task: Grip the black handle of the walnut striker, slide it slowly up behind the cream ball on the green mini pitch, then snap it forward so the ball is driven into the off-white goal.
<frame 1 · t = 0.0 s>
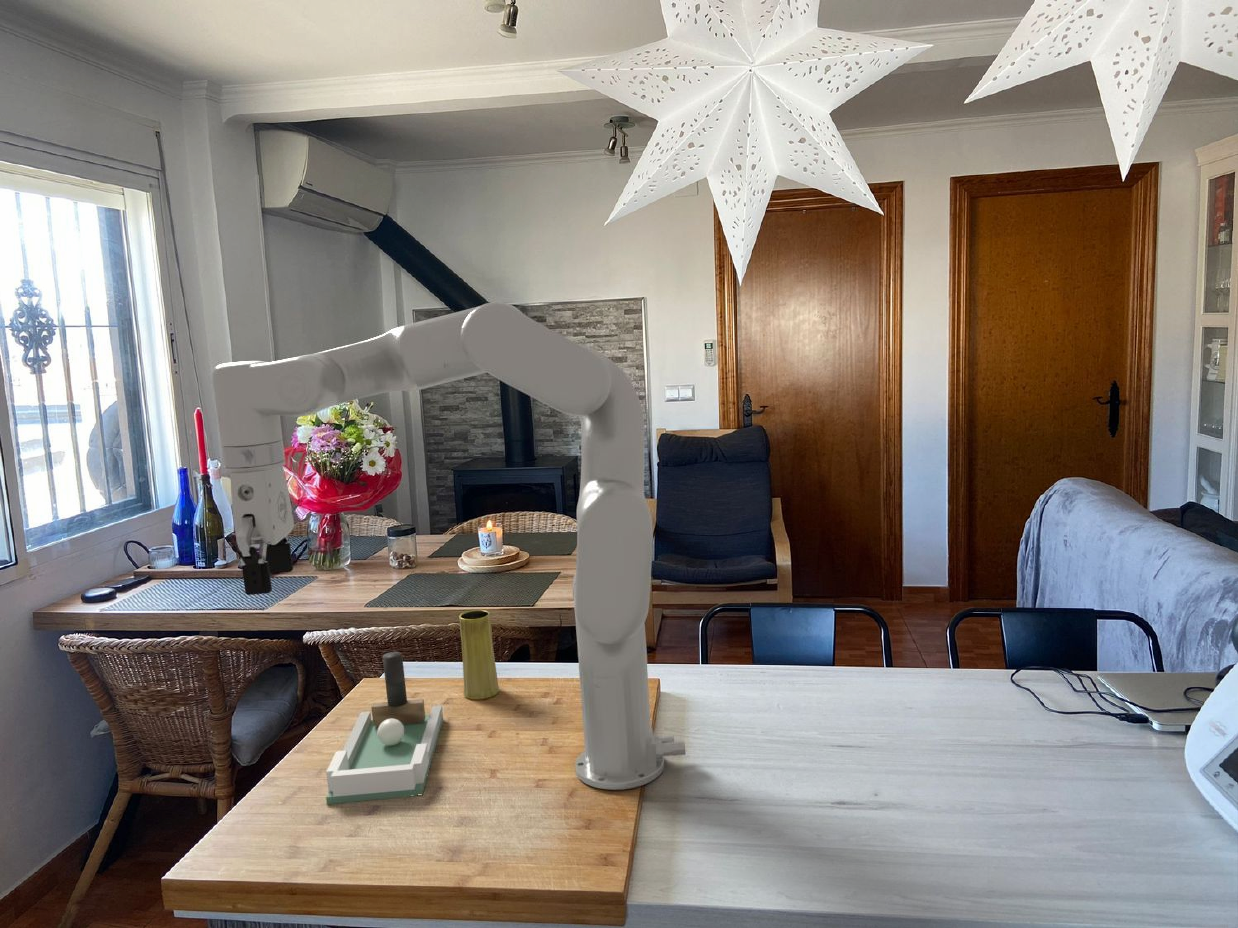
hand: (270, 582, 125), 31 cm above the table, tool pointing down, fingers open, 9 cm apart
ball: (390, 731, 142), point 3 cm above the table, touching pitch
pitch: (390, 758, 140), on the table
striker: (396, 688, 148), point 7 cm above the table, slide at 0.0 cm
vase: (481, 694, 162), on the table
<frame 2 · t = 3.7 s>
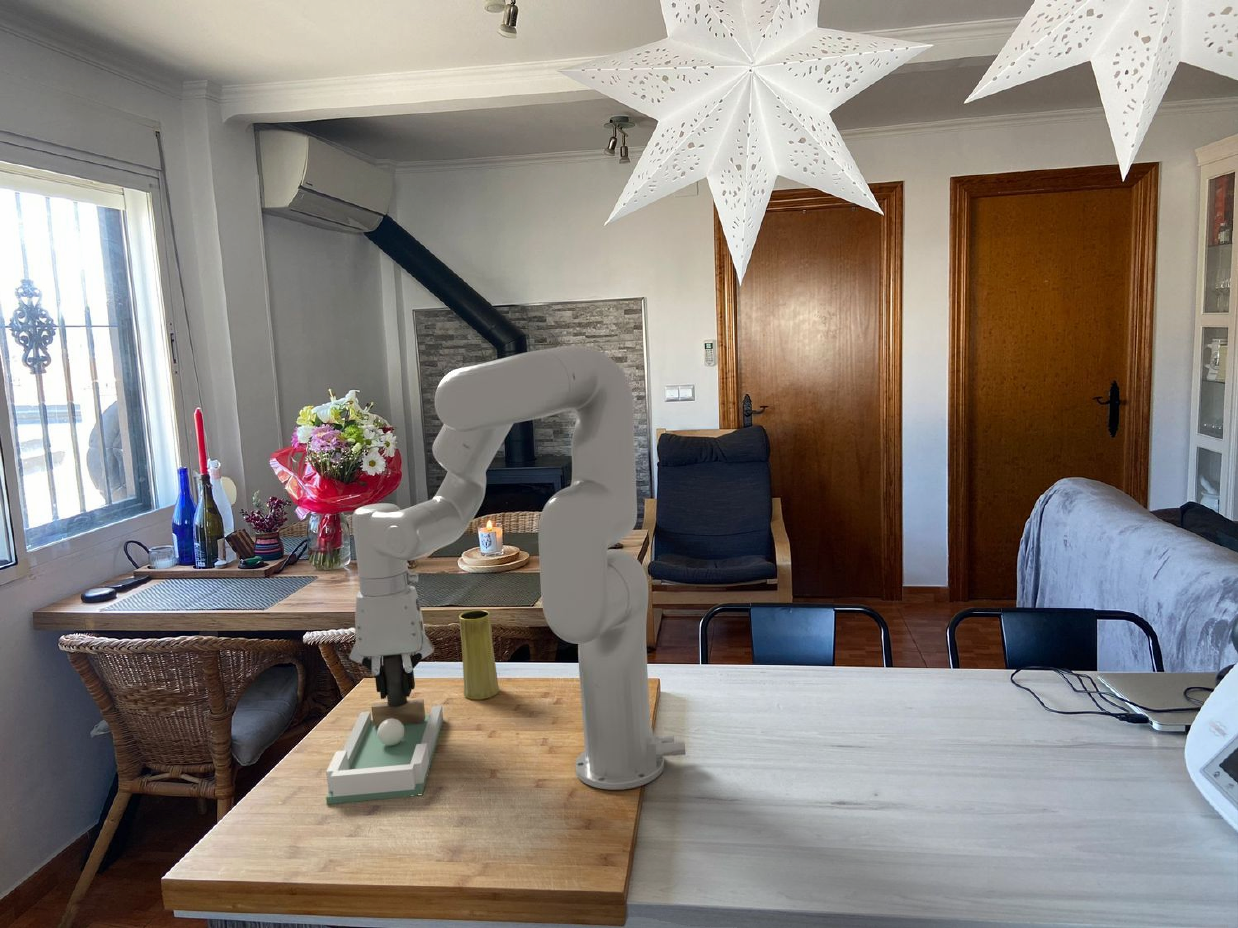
hand: (396, 693, 148), 6 cm above the table, tool pointing down, fingers closed on striker, 3 cm apart
striker: (396, 688, 148), point 7 cm above the table, slide at 0.0 cm, touching gripper
everything else where it was.
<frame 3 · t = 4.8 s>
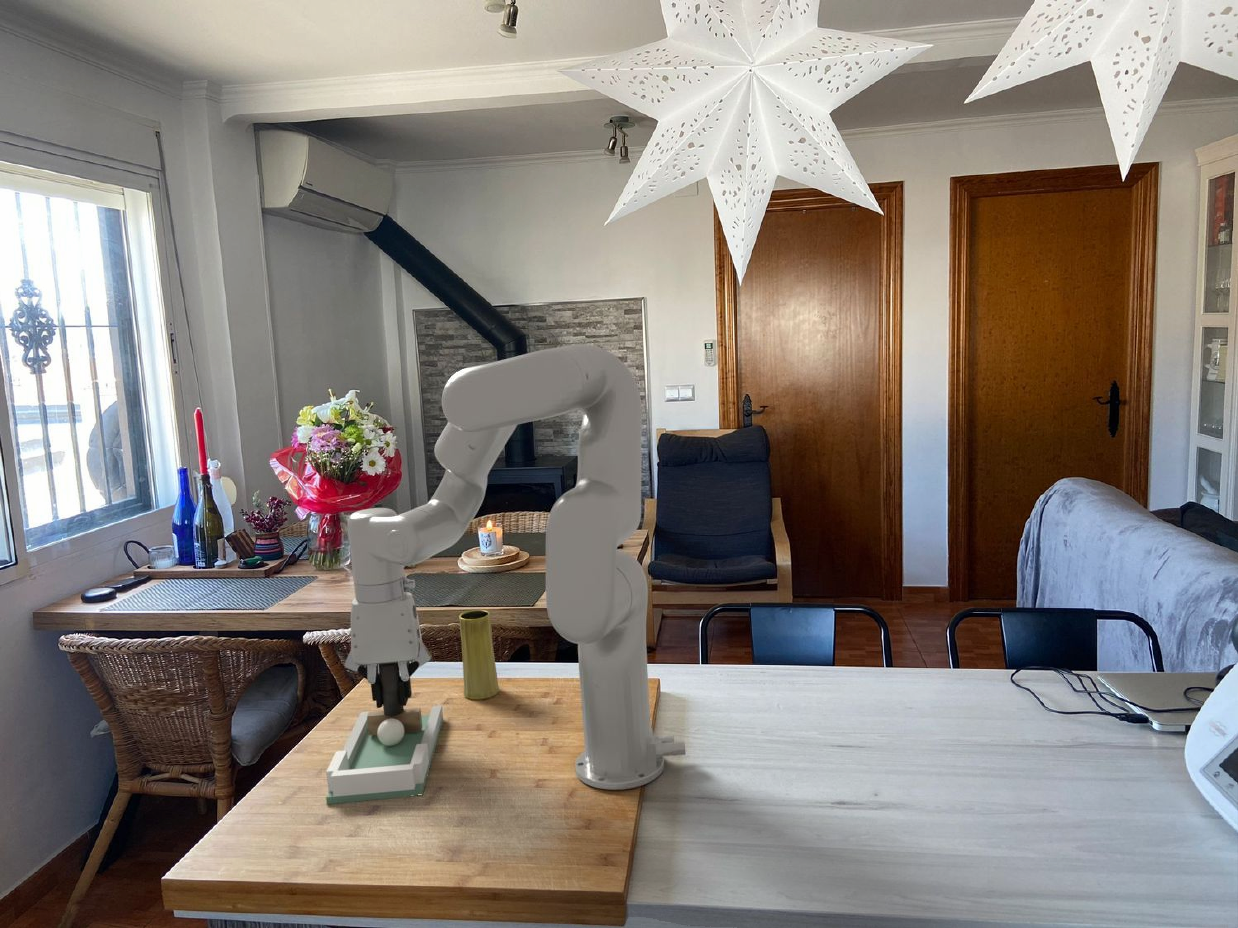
hand: (392, 702, 145), 6 cm above the table, tool pointing down, fingers closed on striker, 3 cm apart
striker: (392, 697, 145), point 7 cm above the table, slide at 3.4 cm, touching gripper
everything else where it was.
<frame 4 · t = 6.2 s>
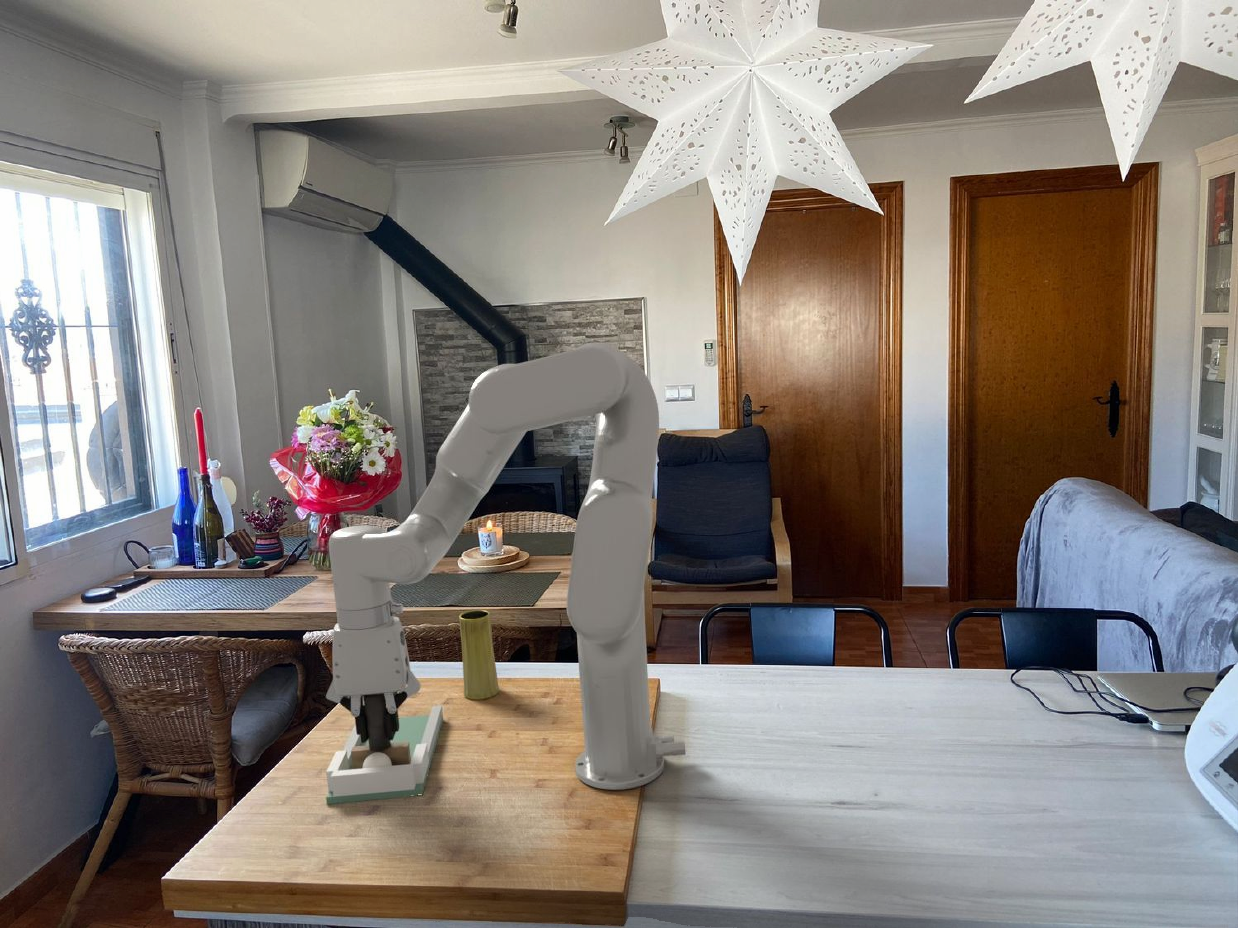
hand: (378, 735, 133), 6 cm above the table, tool pointing down, fingers closed on striker, 3 cm apart
ball: (377, 766, 131), point 3 cm above the table, tilted 59°, touching pitch
striker: (378, 730, 133), point 7 cm above the table, slide at 15.0 cm, touching gripper
everything else where it was.
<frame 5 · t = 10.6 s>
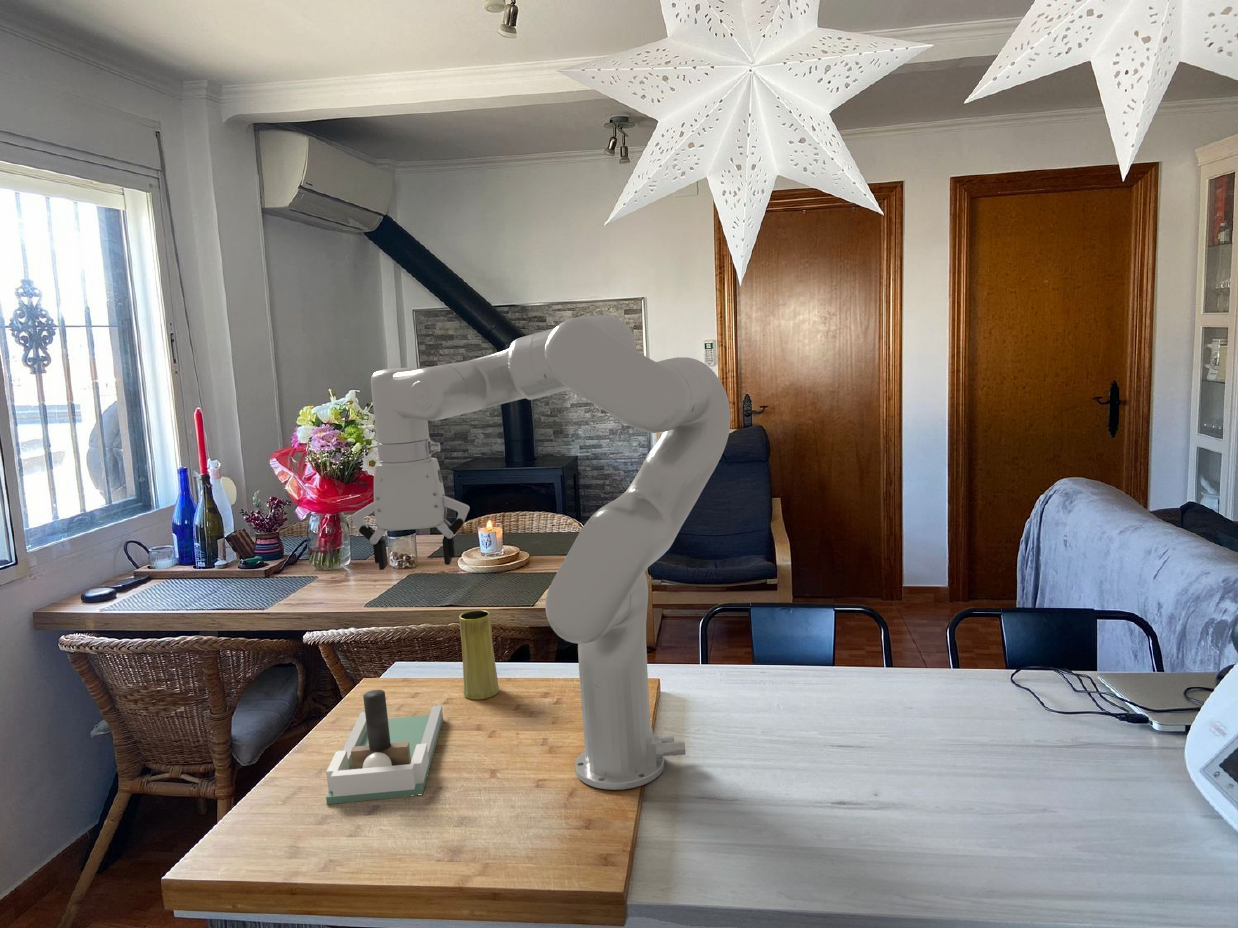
hand: (416, 564, 140), 28 cm above the table, tool pointing down, fingers open, 9 cm apart
striker: (378, 730, 133), point 7 cm above the table, slide at 15.0 cm
everything else where it was.
at the end: ball inside the target area (0.8 cm from its centre), point 3.0 cm above the table; striker slide at 15.0 cm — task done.
